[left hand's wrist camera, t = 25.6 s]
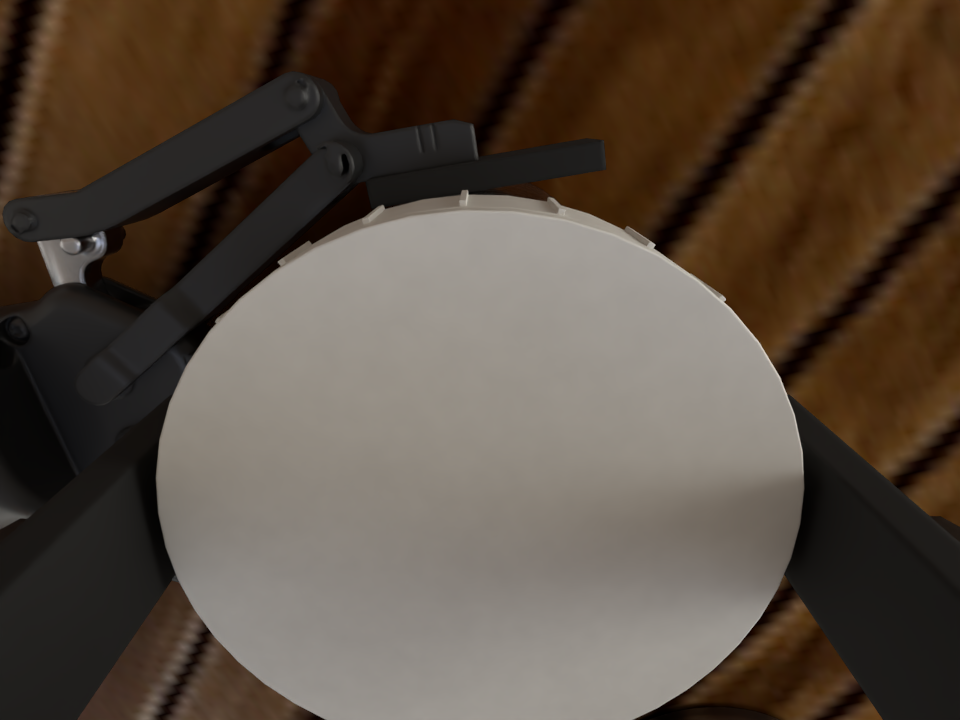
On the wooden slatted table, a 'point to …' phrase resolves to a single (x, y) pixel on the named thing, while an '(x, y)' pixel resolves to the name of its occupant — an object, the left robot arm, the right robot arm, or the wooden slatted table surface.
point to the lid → (480, 470)
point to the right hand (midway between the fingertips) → (610, 326)
